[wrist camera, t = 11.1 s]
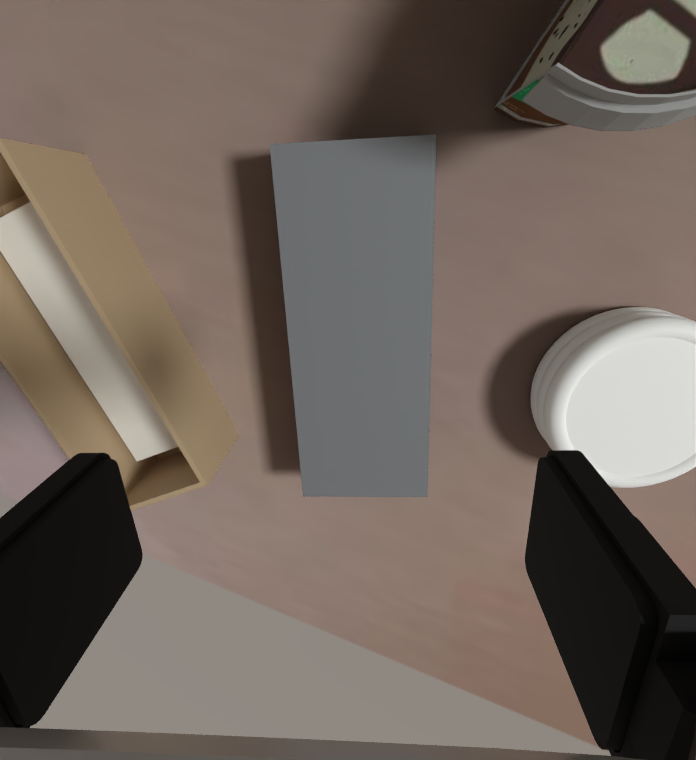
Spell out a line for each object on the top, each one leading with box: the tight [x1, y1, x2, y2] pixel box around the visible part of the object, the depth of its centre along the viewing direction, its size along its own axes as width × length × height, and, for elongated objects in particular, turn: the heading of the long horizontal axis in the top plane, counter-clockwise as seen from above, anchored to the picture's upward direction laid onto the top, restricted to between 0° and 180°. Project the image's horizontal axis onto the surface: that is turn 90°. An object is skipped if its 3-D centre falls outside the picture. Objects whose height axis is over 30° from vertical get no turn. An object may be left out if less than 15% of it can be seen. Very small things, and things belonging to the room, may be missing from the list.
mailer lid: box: [270, 134, 436, 497], centre depth 25 cm, size 19×8×3 cm, turn 3°
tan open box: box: [0, 138, 239, 511], centre depth 24 cm, size 18×6×6 cm, turn 23°
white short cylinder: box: [531, 307, 696, 488], centre depth 25 cm, size 10×10×4 cm
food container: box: [494, 0, 696, 131], centre depth 16 cm, size 12×6×10 cm, turn 148°
